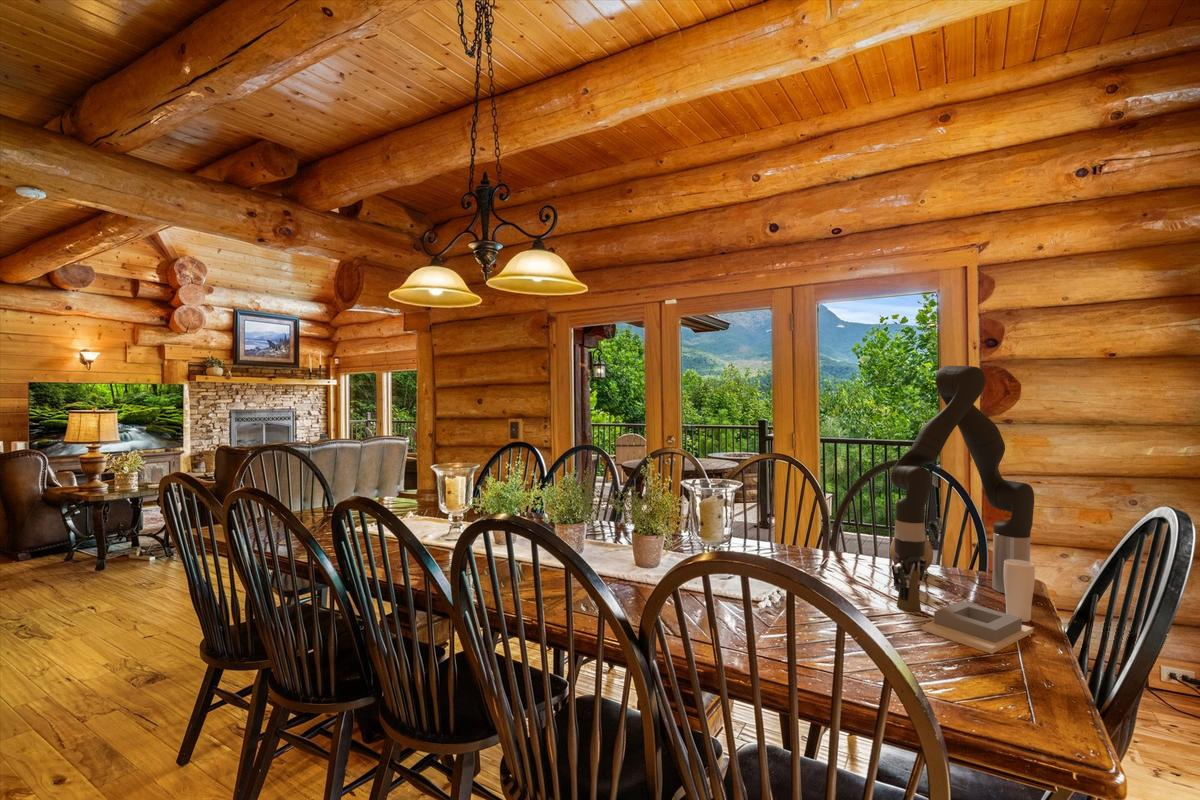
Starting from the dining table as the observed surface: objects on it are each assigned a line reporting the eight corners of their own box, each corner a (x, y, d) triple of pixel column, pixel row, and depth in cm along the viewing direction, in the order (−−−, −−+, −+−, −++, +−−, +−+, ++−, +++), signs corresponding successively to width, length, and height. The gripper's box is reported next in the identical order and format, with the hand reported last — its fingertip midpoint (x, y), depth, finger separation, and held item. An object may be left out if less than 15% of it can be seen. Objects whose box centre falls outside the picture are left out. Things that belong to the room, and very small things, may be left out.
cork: (924, 613, 160) (924, 572, 160) (900, 611, 162) (900, 571, 161) (917, 605, 166) (917, 566, 166) (893, 603, 168) (894, 564, 167)
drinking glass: (1030, 616, 158) (1031, 561, 158) (1036, 625, 152) (1038, 567, 152) (1000, 612, 161) (1001, 557, 161) (1005, 621, 155) (1006, 564, 155)
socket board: (964, 612, 161) (965, 597, 161) (1033, 632, 148) (1033, 615, 148) (921, 630, 149) (922, 613, 149) (991, 653, 136) (992, 635, 136)
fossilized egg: (922, 567, 202) (922, 524, 201) (940, 579, 189) (941, 533, 189) (883, 566, 203) (884, 523, 202) (898, 578, 190) (899, 532, 190)
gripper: (910, 531, 171) (909, 590, 171) (882, 537, 163) (881, 599, 163) (936, 536, 164) (935, 597, 165) (909, 543, 157) (908, 607, 157)
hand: (908, 598), depth 164 cm, fingers closed on cork, 3 cm apart
